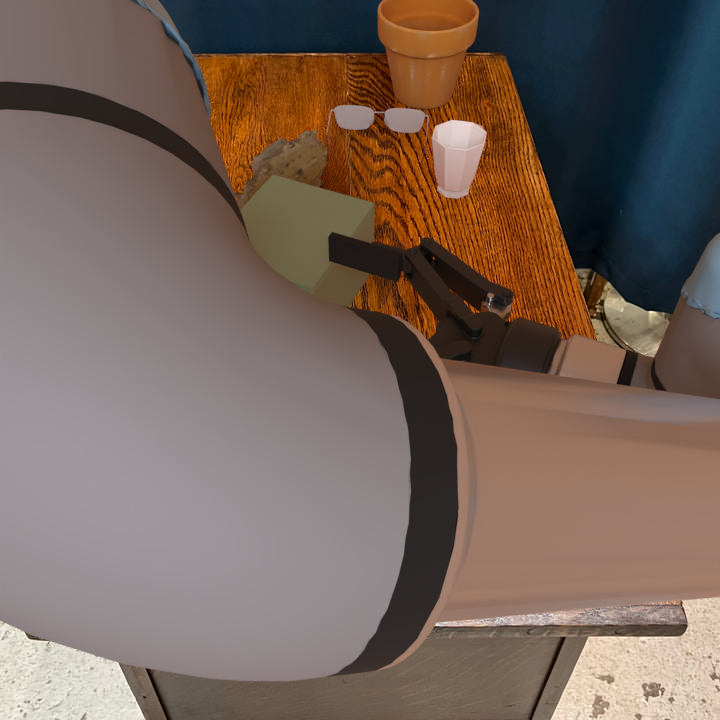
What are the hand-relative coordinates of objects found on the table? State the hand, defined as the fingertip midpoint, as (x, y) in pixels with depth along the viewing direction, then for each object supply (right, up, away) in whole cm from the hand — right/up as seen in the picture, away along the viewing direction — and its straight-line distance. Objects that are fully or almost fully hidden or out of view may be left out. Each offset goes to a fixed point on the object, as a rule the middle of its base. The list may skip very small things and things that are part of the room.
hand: (292, 295), depth 61 cm
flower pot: (+15, +35, +54) cm, 66 cm away
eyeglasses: (+8, +25, +45) cm, 52 cm away
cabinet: (-2, +2, +24) cm, 24 cm away
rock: (-4, +15, +36) cm, 40 cm away
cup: (+19, +18, +39) cm, 47 cm away
